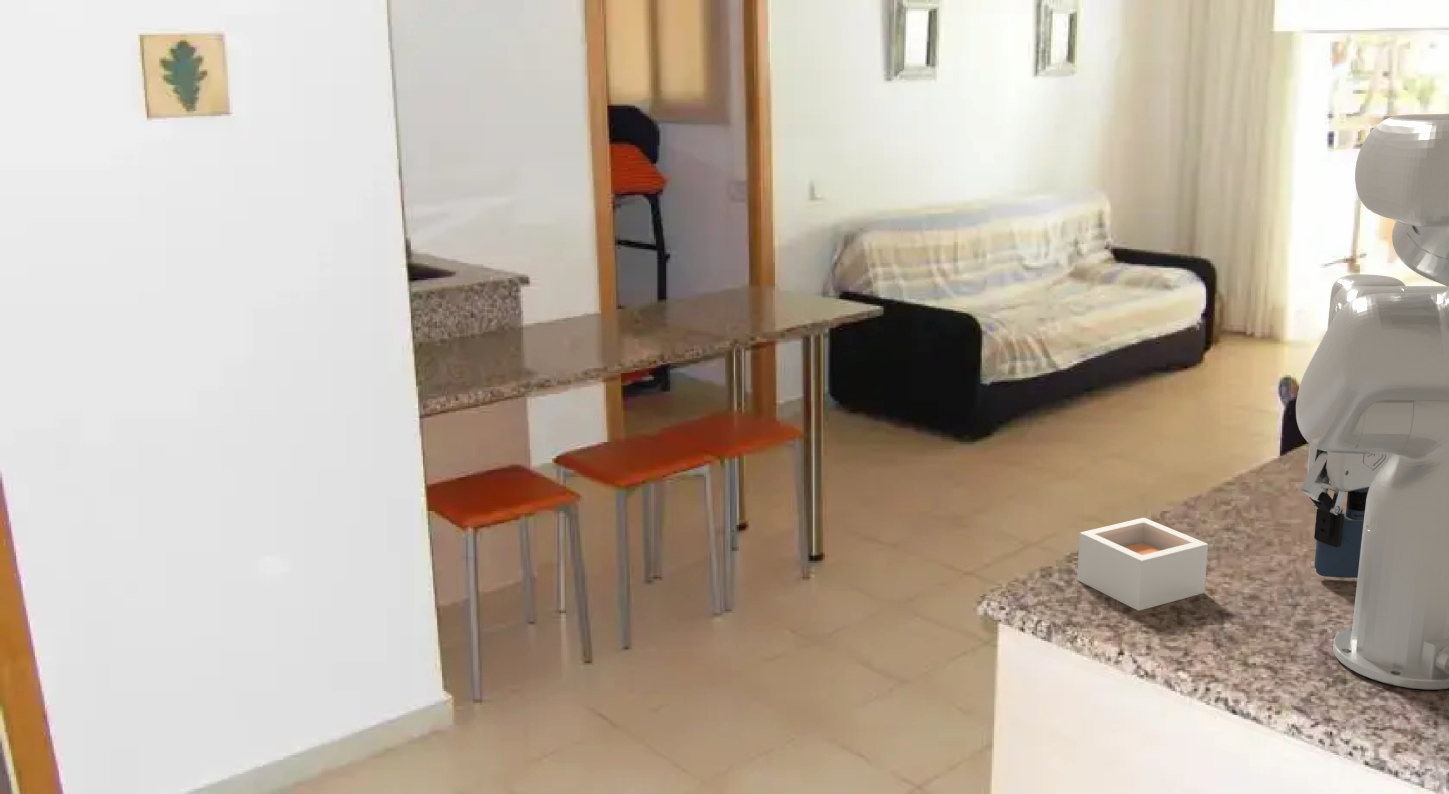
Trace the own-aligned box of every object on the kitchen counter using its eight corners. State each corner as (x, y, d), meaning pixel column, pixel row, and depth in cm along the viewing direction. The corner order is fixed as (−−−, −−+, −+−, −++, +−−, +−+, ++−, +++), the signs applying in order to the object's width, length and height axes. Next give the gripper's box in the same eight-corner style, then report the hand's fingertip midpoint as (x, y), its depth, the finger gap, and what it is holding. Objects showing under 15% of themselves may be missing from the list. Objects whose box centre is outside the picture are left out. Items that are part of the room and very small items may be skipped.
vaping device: (1365, 579, 145) (1375, 480, 142) (1316, 577, 146) (1325, 479, 143) (1359, 570, 148) (1369, 473, 145) (1311, 568, 149) (1320, 471, 146)
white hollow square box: (1204, 592, 145) (1208, 544, 143) (1138, 611, 141) (1141, 560, 139) (1141, 563, 154) (1144, 517, 152) (1077, 580, 149) (1079, 532, 148)
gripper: (1335, 403, 134) (1319, 563, 139) (1440, 383, 141) (1421, 536, 146) (1277, 389, 141) (1264, 542, 146) (1380, 370, 148) (1364, 516, 153)
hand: (1343, 537), depth 146 cm, fingers closed on vaping device, 4 cm apart
